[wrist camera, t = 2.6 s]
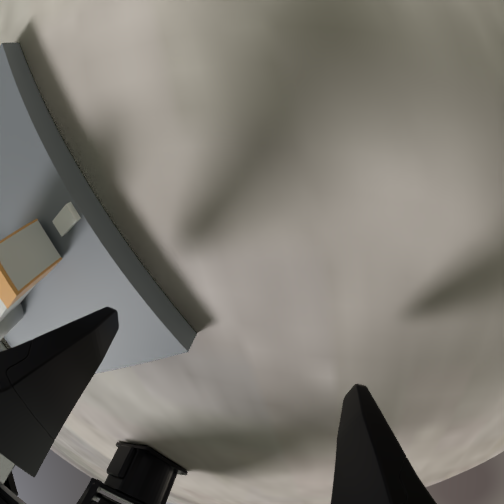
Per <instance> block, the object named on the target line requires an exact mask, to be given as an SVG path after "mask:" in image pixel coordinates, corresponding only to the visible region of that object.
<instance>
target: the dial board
mask: <svg viewBox="0 0 504 504" xmlns="http://www.w3.org/2000/svg"><path fill="white" fill-rule="evenodd" d="M35 219H38V221H39V223H40V224H41V226H42V228H43V229H44V231H45V233H46V234H47V236H48V237H49V239H50V241H51V242H52V244H53V245H54V247H55V248H56V250H57V252H58V253H59V255H60V256H61V258H62V260H61V261H60V262H59V263H58V264H57V265H56V266H55V267H54V268H53V269H52V270H51V271H50V272H49V273H48V274H47V275H46V276H45V277H44V278H43V279H41V280H40V281H39V282H38V283H37V284H36V285H35V286H34V287H33V288H32V290H31V291H30V292H29V293H28V294H27V296H26V297H25V298H24V299H23V300H22V302H21V305H22V308H23V312H24V316H23V318H22V319H21V320H20V321H19V322H18V323H17V324H16V325H15V326H14V327H13V328H12V329H11V330H10V331H9V332H8V333H7V334H6V335H5V336H4V339H5V340H6V341H7V343H8V344H9V345H10V346H11V348H12V347H15V346H17V345H20V344H22V343H25V342H27V341H29V340H33V339H34V338H36V337H38V336H41V335H43V334H45V333H47V332H50V331H52V330H54V329H56V328H59V327H61V326H63V325H65V324H68V323H70V322H72V321H75V320H77V319H79V318H81V317H84V316H86V315H88V314H91V313H93V312H95V311H97V310H100V309H102V308H104V307H111V308H113V309H115V310H117V312H118V320H119V329H118V331H117V333H116V335H115V337H114V339H113V341H112V343H111V345H110V347H109V349H108V351H107V353H106V355H105V357H104V359H103V361H102V363H101V364H100V366H99V368H98V369H97V371H96V372H95V374H96V373H101V372H106V371H111V370H115V369H120V368H125V367H129V366H133V365H138V364H142V363H146V362H150V361H154V360H158V359H162V358H166V357H170V356H174V355H178V354H182V353H185V352H188V351H189V349H190V346H191V344H192V342H193V340H194V338H195V336H196V334H197V333H196V332H195V331H194V330H193V329H192V328H191V326H190V325H189V324H188V323H187V322H186V320H185V319H184V318H183V317H182V315H181V314H180V313H179V312H178V311H177V309H176V308H175V307H174V306H173V304H172V303H171V302H170V301H169V299H168V298H167V297H166V295H165V294H164V293H163V292H162V290H161V289H160V288H159V286H158V285H157V284H156V283H155V281H154V280H153V279H152V277H151V276H150V275H149V273H148V272H147V271H146V269H145V268H144V267H143V265H142V264H141V262H140V261H139V260H138V258H137V257H136V256H135V254H134V253H133V251H132V250H131V248H130V247H129V246H128V244H127V243H126V241H125V240H124V238H123V237H122V236H121V234H120V233H119V231H118V230H117V228H116V227H115V225H114V224H113V222H112V221H111V219H110V218H109V216H108V215H107V213H106V212H105V210H104V209H103V207H102V205H101V204H100V202H99V201H98V199H97V198H96V196H95V194H94V193H93V191H92V189H91V188H90V186H89V185H88V183H87V181H86V180H85V178H84V176H83V175H82V173H81V171H80V169H79V168H78V166H77V164H76V163H75V161H74V159H73V157H72V155H71V154H70V152H69V150H68V148H67V146H66V145H65V143H64V141H63V139H62V137H61V135H60V133H59V131H58V130H57V128H56V126H55V124H54V122H53V120H52V118H51V116H50V114H49V112H48V110H47V108H46V106H45V103H44V101H43V99H42V97H41V95H40V93H39V91H38V88H37V86H36V84H35V82H34V79H33V77H32V75H31V72H30V70H29V67H28V65H27V62H26V60H25V57H24V55H23V52H22V50H21V47H20V44H19V43H2V44H1V46H0V241H1V240H2V239H4V238H5V237H7V236H8V235H10V234H12V233H13V232H15V231H17V230H18V229H20V228H21V227H23V226H25V225H26V224H28V223H30V222H32V221H33V220H35Z"/></svg>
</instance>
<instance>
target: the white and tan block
mask: <svg viewBox="0 0 504 504" xmlns="http://www.w3.org/2000/svg"><path fill="white" fill-rule="evenodd" d="M61 260H62V258H61V256H60V255H59V253H58V252H57V250H56V248H55V247H54V245H53V244H52V242H51V241H50V239H49V237H48V236H47V234H46V233H45V231H44V229H43V228H42V226H41V224H40V223H39V221H38V219H35V220H33V221H32V222H30V223H28V224H26V225H25V226H23V227H21V228H20V229H18V230H17V231H15V232H13V233H12V234H10V235H8V236H7V237H5V238H4V239H2V240H1V241H0V340H1V339H2V338H3V337H4V336H5V335H6V334H7V333H8V332H9V331H10V330H11V329H12V328H13V327H14V326H15V325H16V324H17V323H18V322H19V321H20V320H21V319H22V318H23V316H24V312H23V308H22V305H21V302H22V300H23V299H24V298H25V297H26V296H27V294H28V293H29V292H30V291H31V290H32V288H33V287H34V286H35V285H36V284H37V283H38V282H39V281H40V280H41V279H43V278H44V277H45V276H46V275H47V274H48V273H49V272H50V271H51V270H52V269H53V268H54V267H55V266H56V265H57V264H58V263H59V262H60V261H61Z"/></svg>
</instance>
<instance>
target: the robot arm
mask: <svg viewBox="0 0 504 504" xmlns="http://www.w3.org/2000/svg"><path fill="white" fill-rule="evenodd" d="M118 329H119V320H118V312H117V310H115V309H113V308H111V307H104V308H102V309H100V310H97V311H95V312H93V313H91V314H88V315H86V316H84V317H81V318H79V319H77V320H75V321H72V322H70V323H68V324H65V325H63V326H61V327H59V328H56V329H54V330H52V331H50V332H47V333H45V334H43V335H41V336H38V337H36V338H34V339H33V340H29V341H27V342H25V343H22V344H20V345H17V346H15V347H12V348H9V349H7V350H4V351H1V352H0V504H26V503H25V502H23V501H22V500H21V499H20V498H19V497H17V495H18V492H17V489H16V486H15V482H14V478H13V474H12V469H13V468H14V466H15V465H17V466H18V467H19V468H21V469H22V470H24V471H25V472H27V473H28V474H30V475H31V476H33V477H35V476H36V474H37V472H38V470H39V468H40V466H41V464H42V463H43V460H44V459H45V457H46V455H47V453H48V451H49V450H50V448H51V446H52V444H53V442H54V440H55V438H56V437H57V435H58V433H59V431H60V430H61V428H62V426H63V424H64V423H65V421H66V419H67V418H68V416H69V414H70V413H71V411H72V409H73V408H74V406H75V404H76V403H77V401H78V399H79V398H80V396H81V394H82V393H83V391H84V390H85V388H86V386H87V385H88V383H89V382H90V380H91V378H92V377H93V375H94V374H95V372H96V371H97V369H98V368H99V366H100V364H101V363H102V361H103V359H104V357H105V355H106V353H107V351H108V349H109V347H110V345H111V343H112V341H113V339H114V337H115V335H116V333H117V331H118ZM116 446H117V447H118V449H117V451H116V453H115V455H114V457H113V459H112V461H111V463H110V465H109V467H108V469H107V473H108V474H109V475H108V477H107V479H106V481H105V483H104V484H103V483H102V482H101V481H100V480H98V479H97V480H96V479H94V478H92V479H91V481H90V483H89V485H88V486H87V488H86V490H85V491H84V493H83V495H82V496H81V498H80V499H79V501H78V502H77V504H121V503H119V502H117V501H114V500H113V499H111V498H109V497H107V496H105V495H103V494H101V493H99V492H100V490H103V491H105V492H106V493H108V494H110V495H112V496H114V497H116V498H118V499H120V500H122V501H124V502H127V503H128V504H166V501H167V499H168V496H169V494H170V491H171V488H172V486H173V483H174V481H175V478H176V475H177V474H180V475H187V473H188V472H187V471H186V470H184V469H182V468H181V467H179V466H177V465H176V464H174V463H173V462H171V461H169V460H168V459H166V458H165V457H163V456H162V455H160V454H159V453H157V452H156V451H154V450H153V449H151V448H149V447H147V446H140V445H132V444H125V443H119V442H117V443H116ZM96 499H97V500H99V502H96V501H95V500H96ZM331 504H437V503H436V502H435V501H434V499H433V498H432V496H431V495H430V494H429V492H428V491H427V489H426V488H425V486H424V485H423V483H422V482H421V480H420V479H419V477H418V476H417V474H416V473H415V471H414V469H413V467H412V466H411V464H410V462H409V460H408V459H407V458H406V455H405V453H404V451H403V450H402V448H401V446H400V444H399V442H398V441H397V439H396V437H395V435H394V434H393V432H392V430H391V428H390V426H389V425H388V423H387V421H386V419H385V418H384V416H383V414H382V412H381V411H380V409H379V407H378V406H377V404H376V402H375V400H374V399H373V397H372V395H371V394H370V392H369V390H368V388H367V387H366V386H364V385H359V384H355V385H354V386H353V387H352V388H351V390H350V391H349V392H348V393H347V394H346V396H345V398H344V400H343V406H342V413H341V419H340V424H339V430H338V437H337V449H336V462H335V472H334V482H333V491H332V499H331Z"/></svg>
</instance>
